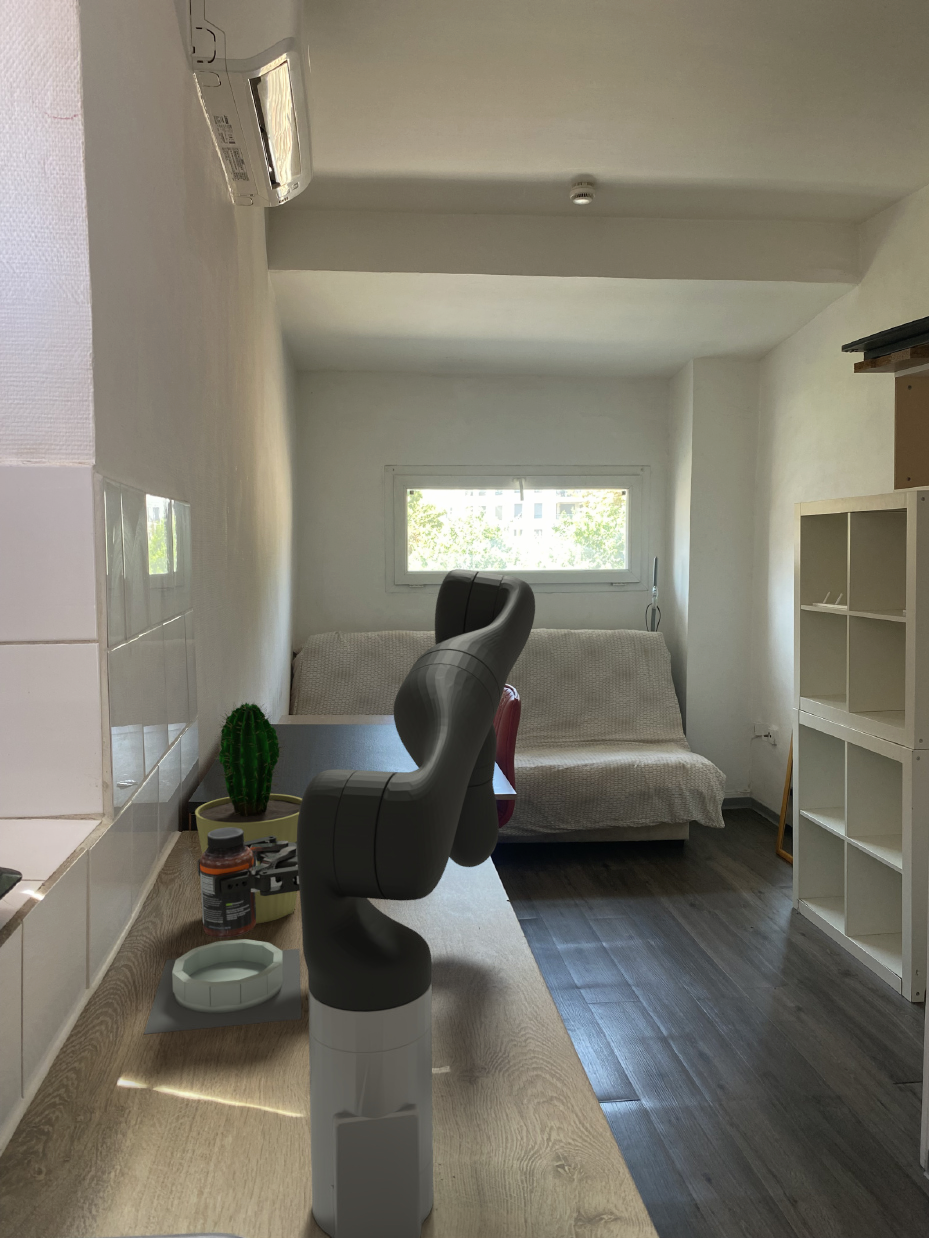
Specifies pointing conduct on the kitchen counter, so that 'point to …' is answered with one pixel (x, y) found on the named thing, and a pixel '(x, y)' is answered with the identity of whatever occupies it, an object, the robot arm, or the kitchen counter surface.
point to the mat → (178, 1018)
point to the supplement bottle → (228, 910)
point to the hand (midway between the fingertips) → (206, 877)
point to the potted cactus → (252, 795)
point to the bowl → (228, 976)
